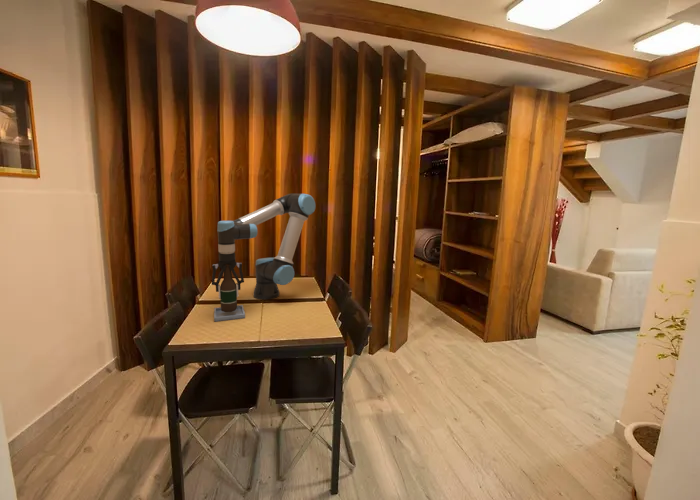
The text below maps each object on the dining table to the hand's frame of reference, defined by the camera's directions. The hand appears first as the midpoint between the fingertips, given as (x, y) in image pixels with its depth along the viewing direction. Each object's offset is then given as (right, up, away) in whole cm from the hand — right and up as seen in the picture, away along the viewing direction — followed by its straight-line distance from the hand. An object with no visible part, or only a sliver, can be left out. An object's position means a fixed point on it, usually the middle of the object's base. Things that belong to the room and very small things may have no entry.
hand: (228, 296), depth 156 cm
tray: (0, -9, +2) cm, 9 cm away
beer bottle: (0, -7, +1) cm, 7 cm away
